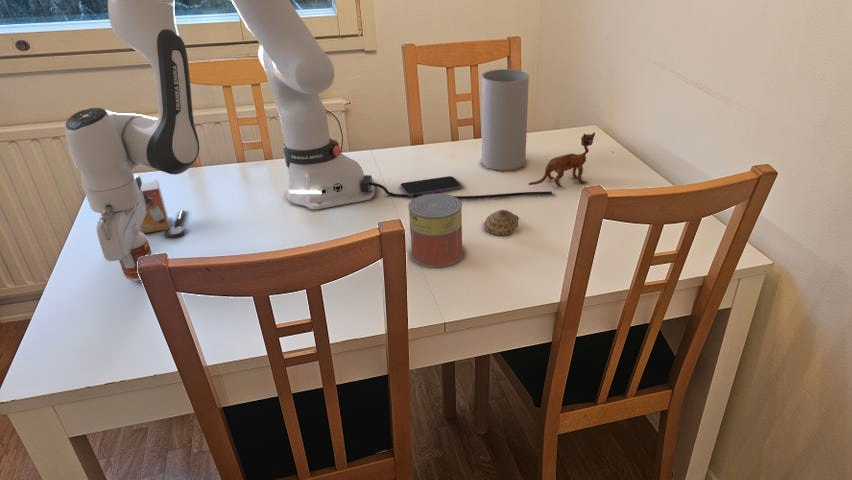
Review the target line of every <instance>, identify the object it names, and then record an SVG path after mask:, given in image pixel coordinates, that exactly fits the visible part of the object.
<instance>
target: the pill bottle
mask: <svg viewBox="0 0 852 480" xmlns="http://www.w3.org/2000/svg"><path fill="white" fill-rule="evenodd" d="M133 231H134V234H135V235H136V238H135V241H134V243H133V245H132V247H131V255H132V256H134V257H135V261H136V264H135V267H133V268H126V267H125V265H124V263H123V261H122V260H118V262H119V265H120V267H121V270H122V273H123V275H124V277H125V279H127V280H128V281H133V282H139V281H141V280H140V278H139V276H138V273H137V261H138V258H139V257H141V256H145V255H151V254H152V255H153V252H152V249H151V245H150V243H149V239H148V237H147V235H146V233H142V232H140V229H139V226H138V224H137V223H136V224H135V226H134V228H133Z"/></svg>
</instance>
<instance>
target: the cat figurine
mask: <svg viewBox="0 0 852 480" xmlns="http://www.w3.org/2000/svg"><path fill="white" fill-rule="evenodd" d="M595 136H596V132H595V131H593V132H592V133H591V134H590V133H586V134H585V133H583V136H581V137H580V141H581V142H580V143H581V145H580V146H582V147H583V148H584V152H583V153H579V154H576V153H567V154H564V155H559V156H556V157H554V158H551V159H550V160H549V161H548V163H547V164H546V166H545V168H544V174H543V176H542V178H540V179H539V180H536V181H532V182H529V183H528V184H527V185H528V186H535V185H539V184H542V183H543V182H545V181H546V179H547V178H548V179H549V180H551V181H552V180H553V182H554V184H555V185H556V187H557V188H563V187H564V186H563V185H562V184H561V183H560V180H561V179H562V178H563V176H564V174H565V172H566V171H569V170H572V178H574V179H576V180H577V182H578V183H580V184H585V183H586V181H584V180H583V179H582V176H583V173H584V167H583V165H584V164H585V163H586V162H587V156H586V155H587V154H588V153H589V151H590V150H589V148H588V147H590V146H592V145H593V143H594V139H595ZM577 171H578V172H577ZM552 172H555V173H556V174H557V175H556V176H555V177H554V176H552ZM576 172H577V173H576Z"/></svg>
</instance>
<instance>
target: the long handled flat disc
mask: <svg viewBox="0 0 852 480" xmlns="http://www.w3.org/2000/svg"><path fill="white" fill-rule="evenodd" d="M184 214H185V210H184V209H180V210H179V213H178V215H177V218H176V221H175V224H174V226H171V227H170V228H169V229H167V230H164V231H165V232H164V233H165V236H166V237H167V238H169V239H175V238H180V237H182V236H183V235H184V234H185V229H184V227H183V226H181V224H182V220H183V218H184Z"/></svg>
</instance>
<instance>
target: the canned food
mask: <svg viewBox="0 0 852 480" xmlns="http://www.w3.org/2000/svg"><path fill="white" fill-rule="evenodd" d="M454 196H455V195H451V194H448V193H441V192H436V193H429V194H424V195H422V196H418V197H414V198H413V199H412V200H410V201H409V203H408V205H407V207H408V214H409V216H408V217H409V229H410V245H411V258H412V260H413V261H414V262H415V263H417V264H419V265H421V266H424V267H427V268H428V267H429V268H443V267H447V266H451V265H454V264H455V263H457V262H458V261H460V260H461V259H462V258H463V255H464V254H463V252H464V251H463V220H462V218H463V217H462V212H463V211H462V208H463V204H462V201H461V199H458V198H456V197H454Z"/></svg>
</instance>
